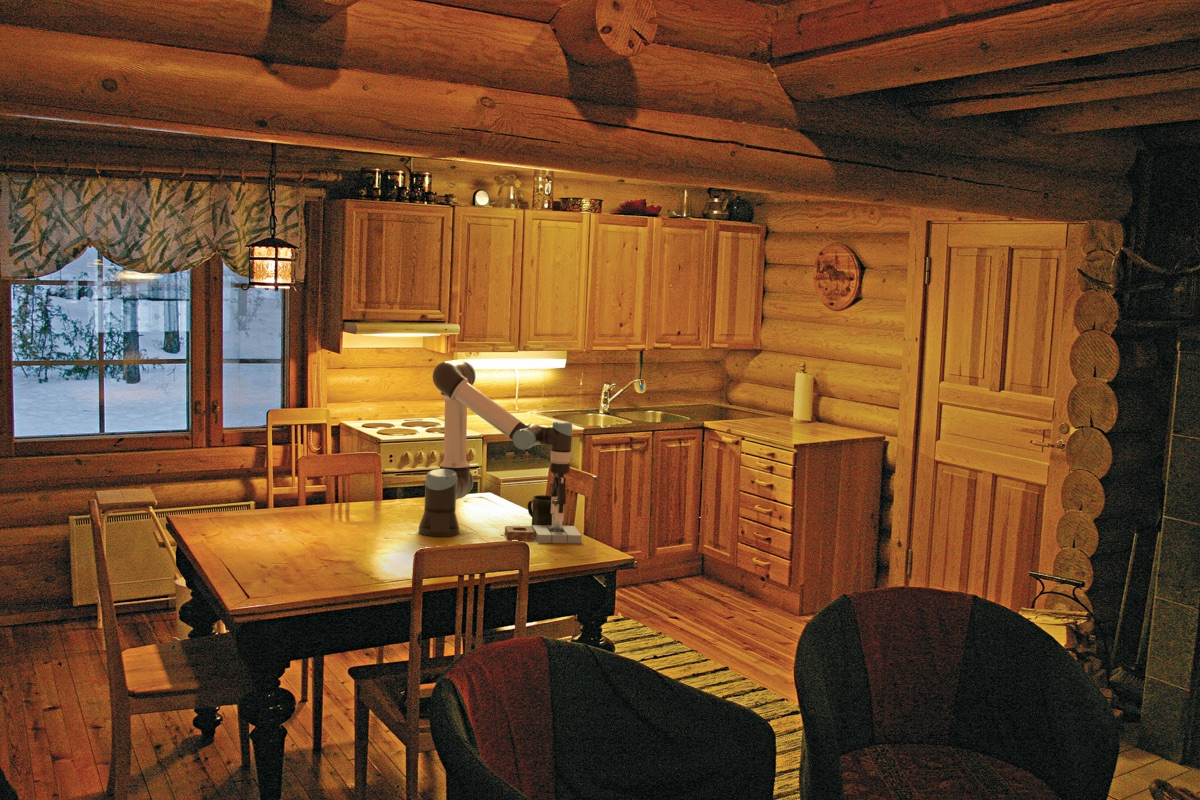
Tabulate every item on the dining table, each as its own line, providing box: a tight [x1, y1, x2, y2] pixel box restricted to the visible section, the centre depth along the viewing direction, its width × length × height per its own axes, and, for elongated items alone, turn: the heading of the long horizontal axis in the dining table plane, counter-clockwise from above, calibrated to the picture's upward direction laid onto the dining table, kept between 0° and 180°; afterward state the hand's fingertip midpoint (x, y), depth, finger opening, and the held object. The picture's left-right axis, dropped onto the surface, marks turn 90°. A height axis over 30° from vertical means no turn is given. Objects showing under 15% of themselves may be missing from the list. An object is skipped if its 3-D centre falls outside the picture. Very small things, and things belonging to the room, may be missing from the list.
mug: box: [527, 494, 553, 526], centre depth 424 cm, size 11×15×12 cm
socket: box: [531, 524, 582, 544], centre depth 407 cm, size 17×17×3 cm
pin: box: [551, 499, 563, 532], centre depth 406 cm, size 5×5×15 cm
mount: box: [504, 525, 535, 541], centre depth 405 cm, size 10×10×3 cm
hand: (556, 517), depth 406 cm, fingers open, 13 cm apart
